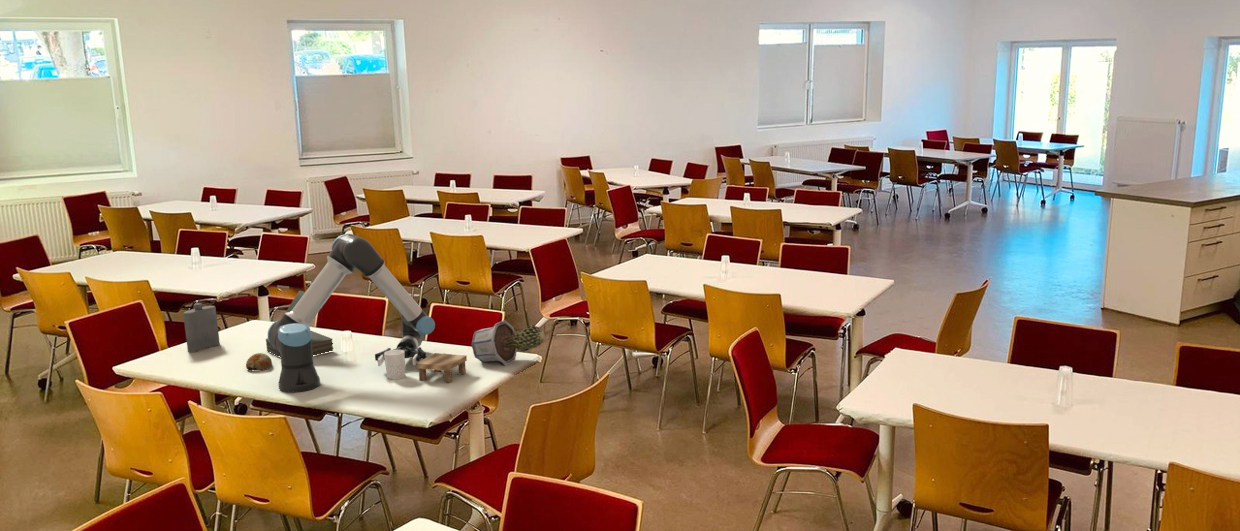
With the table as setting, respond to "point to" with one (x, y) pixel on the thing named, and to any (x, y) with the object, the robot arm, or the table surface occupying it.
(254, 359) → the bread roll
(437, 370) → the stool
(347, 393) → the table surface
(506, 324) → the potted plant
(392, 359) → the white cup
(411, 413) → the table surface
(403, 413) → the table surface
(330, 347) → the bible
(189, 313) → the flask
